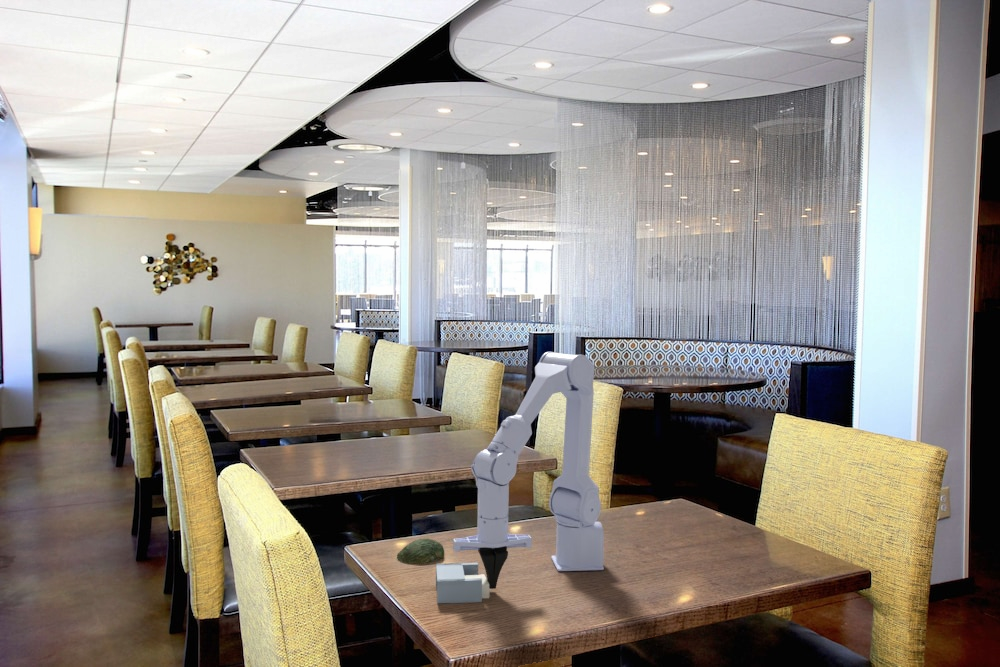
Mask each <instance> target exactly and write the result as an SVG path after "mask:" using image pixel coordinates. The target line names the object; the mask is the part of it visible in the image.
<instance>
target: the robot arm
mask: <svg viewBox="0 0 1000 667" xmlns="http://www.w3.org/2000/svg"><path fill="white" fill-rule="evenodd" d="M594 373H595V364H593V362H592V361H591V360H590V359H589V358H588V356H586V355H584V354H572V353H571V354H570V353H561V352H554V351H546V352H544V353H543V354H542V355H541V357H540V359H539V361H538V362H537V364H536V365H535V367H534V374H535V377H534V379H533V381H532V382H531V385H530V387H529V389H528V390H527V392H526V394H525V396H524V398H523V400H522V401H521V403H520V405H519V407H518V409H517V411H516V412H515V414H514V415H510V416H507V417H506V418H505V419H503V420H502V421H501V423H500V427H499V429H498V430H497V432H496V433H495V435H494V436H493V438H492V440H491V441H490V443H489V445H488V446H487V447H486V449H483V450H481V451H480V452H478V453H477V454H476V456H475V457H474V459H473V463H472V464H471V465H470V469H471V473H472V476H473V477H474V478H475V486H476V487H477V525H476V526H477V529H476V530H477V531H476V532H477V534H475V535H470V536H466V537H460V538H459V537H458V538H452V542H453V543H452V548H453V551H454V553H460V552H461V551H478V553H479V556H480V559H481V561H482V563H483V566H484V567H483V568H484V570H485V573H486V575H485V576H486V578H487V580H488V582H489V590H493V589H497V585H498V581H499V580H498V579H499V577H500V573H501V571H502V569H503V567H504V564H505V562H506V561H507V559H508V556H509V552H508V549H514V548H525V549H532V545H533V544H532V540H533V539H532V537H531V535H530V534H512V533H509V502H510V501H509V498H510V496H509V495H510V494H509V493H510V492H509V491H510V490H509V489H510V482H511V481H512V479H513V478H514V477H515V476H516V473H517V464H518V462H519V456H520V455H521V453H522V451H523V449H524V448H525V446H526V444H527V443H528V441H529V439H530V438H531V436H532V434H533V431H532V423H533V422H534V421H535V419H536V418H537V417H538V415H539V413H540V412H541V411H542V409H543V408H544V407H545V406H546V404H547V403H548V401H549V400H550V398H551V397H553V396H552V395H554V394H558V393H559V394H560V393H561V394H562V395H563V397H565V399H566V402H565V417H564V418H565V420H564V438H563V453H562V454H563V455H562V470H561V472H562V474H561V475H559V476H558V477H557V478H555V479H554V480H553V482H552V489H551V492H550V495H549V498H548V507H549V511H550V512H551V514H552V515H553V516H554V518H553V520H555V521H556V540H555V541H556V542H555V544H556V545H555V547H556V548H555V555H551V561H552V562H553V564H554V566H555V567H556V570H557V571H558V572H573V571H576V572H577V571H578V572H580V571H603V570H604V569H605V568H604V546H605V545H604V544H605V543H604V542H605V540H604V528H603V524H602V522H601V521H597V520H598V519H599V516H600V515H601V510H602V503H601V498H600V492H599V491H600V487H599V486H598V484H596V482H595V481H594V480H593V479H592V477H591V476H590V464H591V462H590V460H591V459H590V458H591V444H592V443H591V442H592V427H593V426H592V424H593V410H594V408H593V407H594V379H595V378H594V376H595V374H594Z"/></svg>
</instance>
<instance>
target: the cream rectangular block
mask: <svg viewBox="0 0 1000 667" xmlns="http://www.w3.org/2000/svg"><path fill="white" fill-rule="evenodd" d="M464 576H465V579H475V578H482V599H490V588H489V582H488V580H487V575H485V573H484V574H483V573H481V574H479V573H478V575H464Z"/></svg>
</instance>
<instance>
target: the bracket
mask: <svg viewBox="0 0 1000 667" xmlns="http://www.w3.org/2000/svg"><path fill="white" fill-rule="evenodd" d="M464 575H479V562H457V563H456V562H454V563H453V562H452V563H451V562H449V563H444V562H443V563H435V587H436V595H437V597H436V604H457V603H458V604H459V603H460V604H461V603H462V604H463V603H467V604H468V603H482V602H483V601H482V600H483V598H482V578H475V579H465V576H464Z"/></svg>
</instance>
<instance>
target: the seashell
mask: <svg viewBox="0 0 1000 667" xmlns="http://www.w3.org/2000/svg"><path fill="white" fill-rule="evenodd" d="M443 557H445V549H444V546H443V544H442V543H440V542H439V541H438V540H435V539H433V538H419V539H416V540H414V541H412V542H410V543H408V544H407V545H405V546H404V547H403V548H402V549H401V550H400V551H398V553H397V555H396V560H397V561H398V562H400V563H403V564H405V565H406V564H407V565H427V564H429V563H433V562H436V561H437V560H439V559H444V558H443Z"/></svg>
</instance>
